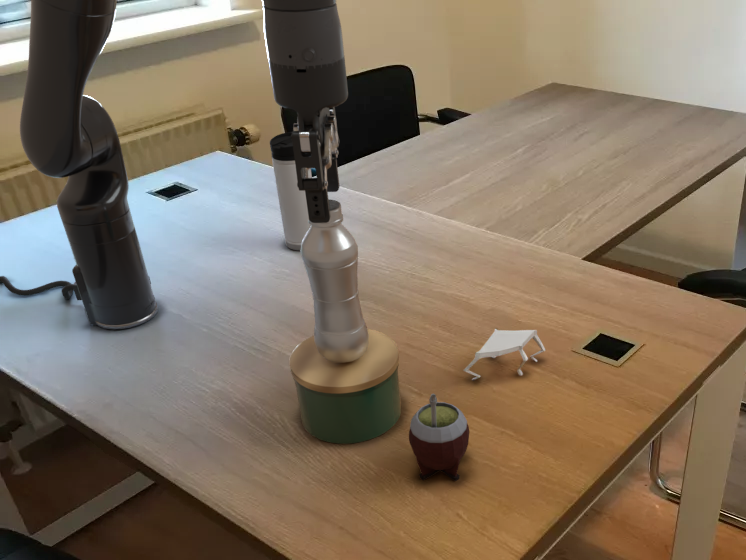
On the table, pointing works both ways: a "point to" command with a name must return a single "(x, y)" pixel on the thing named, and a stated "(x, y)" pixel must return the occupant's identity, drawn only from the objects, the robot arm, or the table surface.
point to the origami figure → (506, 346)
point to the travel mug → (289, 191)
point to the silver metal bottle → (335, 288)
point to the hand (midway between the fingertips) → (325, 205)
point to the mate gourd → (438, 438)
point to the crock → (348, 391)
